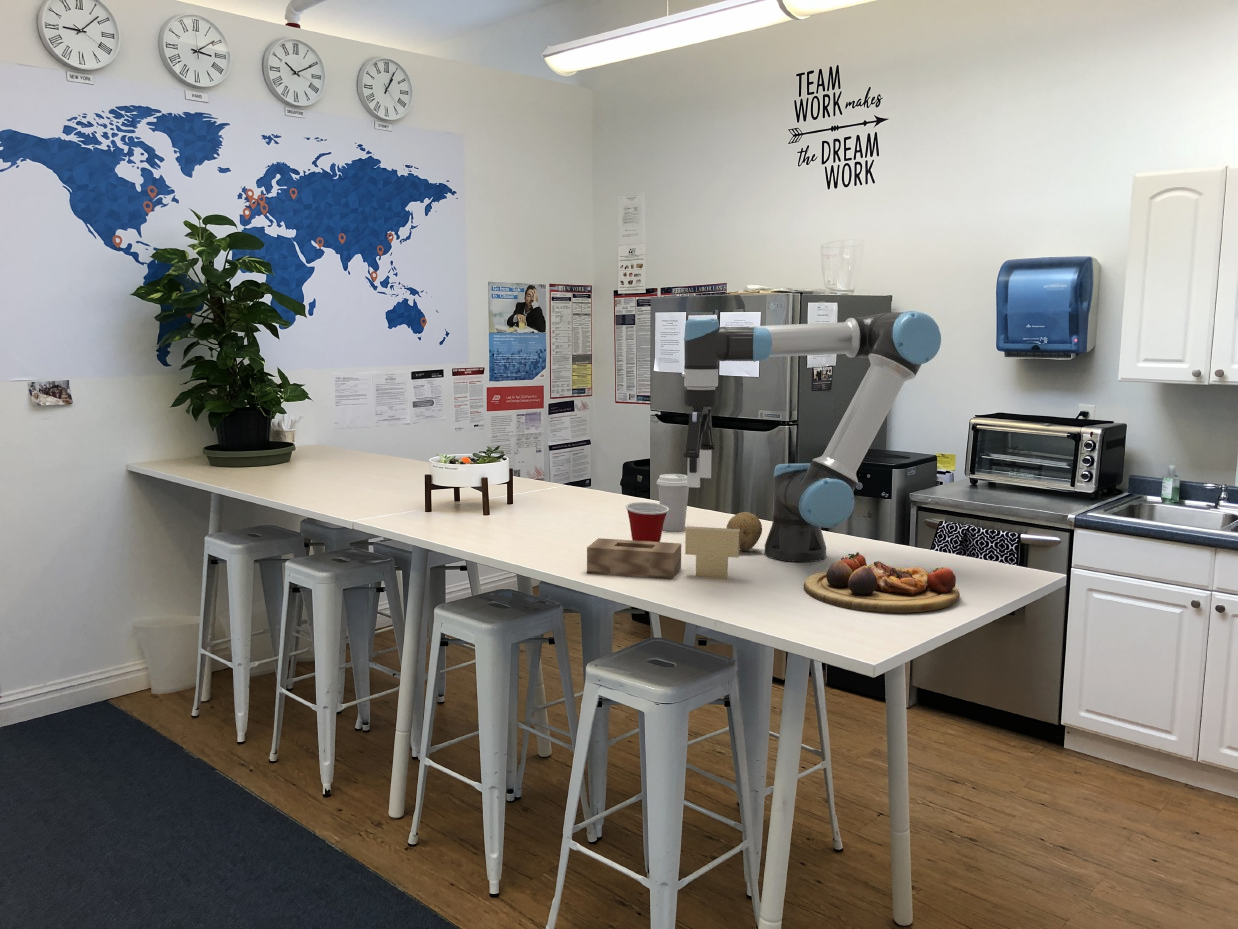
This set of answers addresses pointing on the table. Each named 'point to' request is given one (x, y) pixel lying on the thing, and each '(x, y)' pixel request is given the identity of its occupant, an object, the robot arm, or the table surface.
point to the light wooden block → (712, 549)
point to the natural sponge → (746, 529)
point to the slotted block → (634, 558)
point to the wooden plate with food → (882, 587)
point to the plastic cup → (646, 520)
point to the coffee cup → (673, 500)
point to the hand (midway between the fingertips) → (699, 482)
